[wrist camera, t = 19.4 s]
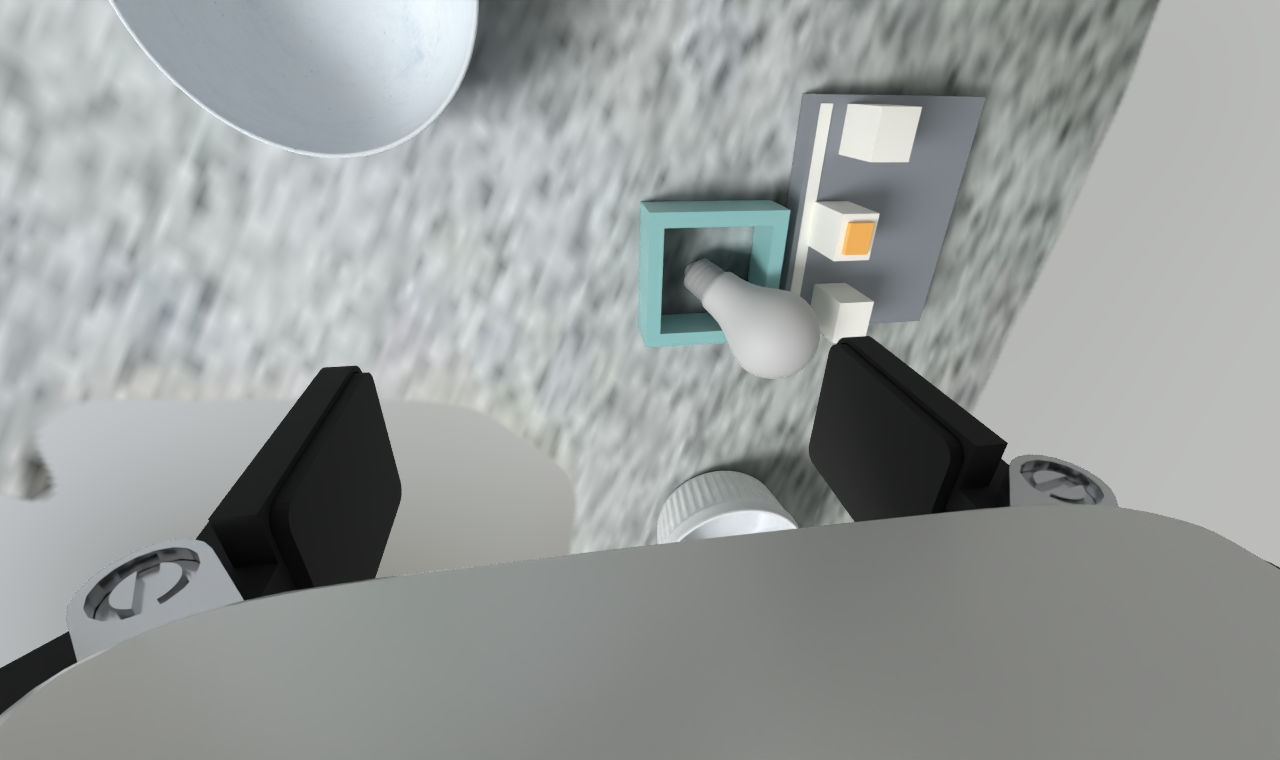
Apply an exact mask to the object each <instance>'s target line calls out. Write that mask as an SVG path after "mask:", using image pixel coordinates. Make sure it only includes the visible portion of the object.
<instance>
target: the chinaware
mask: <svg viewBox="0 0 1280 760" xmlns="http://www.w3.org/2000/svg"><path fill="white" fill-rule="evenodd" d="M109 1H110V3H111V5H112V6H113V8H114V10H115V11H116V13H117V14H118V16H119V18H120V19H121V21H122V22H123V24H124V25H125V27H126V28H127V29H128V31H129V32H130V34H131V35H132V36H133V38H134V39H135V40H136V42H137V43H138V44H139V46H140V47H141V48H142V49H143V51H144V52H145V53H146V54H147V55H148V57H149V58H150V59H151V60H152V61H153V62H154V63H155V64H156V66H157V67H158V68H159V69H160V70H161V71H162V72H163V73H164V74H165V75H166V76H167V77H168V78H169V79H170V80H171V81H172V82H173V83H174V84H175V85H176V86H177V87H178V88H180V89H181V90H182V91H183V92H184V93H185V94H186V95H188V96H189V97H190V98H191V99H192V100H194V101H195V102H196V103H197V104H199V105H200V106H201V107H203V108H204V109H205V110H207V111H208V112H210V113H211V114H212V115H214V116H215V117H217V118H218V119H220V120H221V121H223V122H225V123H226V124H228V125H230V126H231V127H233V128H235V129H237V130H238V131H240V132H242V133H244V134H246V135H248V136H250V137H252V138H255V139H257V140H259V141H261V142H264V143H266V144H269V145H272V146H274V147H277V148H280V149H283V150H287V151H290V152H294V153H298V154H303V155H308V156H315V157H323V158H354V157H362V156H368V155H373V154H377V153H381V152H384V151H387V150H390V149H392V148H395V147H397V146H399V145H401V144H403V143H405V142H407V141H409V140H411V139H412V138H414V137H415V136H417V135H418V134H420V133H421V132H423V131H424V130H425V129H426V128H428V127H429V126H430V125H431V124H432V123H433V122H434V121H435V120H436V119H437V118H438V117H439V116H440V115H441V114H442V113H443V111H444V110H445V109H446V108H447V106H448V105H449V104H450V102H451V101H452V99H453V98H454V96H455V94H456V93H457V91H458V89H459V87H460V85H461V83H462V81H463V79H464V77H465V74H466V72H467V69H468V67H469V64H470V60H471V57H472V53H473V50H474V45H475V40H476V34H477V27H478V16H479V0H109Z"/></svg>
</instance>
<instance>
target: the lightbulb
mask: <svg viewBox="0 0 1280 760" xmlns="http://www.w3.org/2000/svg"><path fill="white" fill-rule="evenodd" d="M684 286H685V287H686V288H687V289H688V290H689V291H690V292H691V293H692V294H694V295H695V297H696V298H698V299H699V300H700V301H701V302H702V306H703V307H704V308H705V309H706V310H707V311H708V312H709V313H710V314H711V315H712V316H713V317H714V319H715V320H716V321H717V322H718V324H719V325H720V327H721V329H722V331H723V332H724V334H725V337H726V340H727V342H728V345H729V347H730V349H731V352H732V354H733V356H734V358H735V359H736V361H737V362H738V363H739V364H740V366H741V367H743V368H744V369H745V370H746V371H748V372H750V373H751V374H753V375H756V376H759V377H762V378H769V379H779V378H784V377H788V376H790V375H793V374H795V373H797V372H798V371H800V370H801V369H803V368H804V367H805V366H806V365H807V364H808V363H809V362H810V360H811V359H812V358H813V356H814V354H815V352H816V350H817V348H818V344H819V340H820V327H819V322H818V319H817V316H816V314H815V312H814V311H813V309H812V307H811V306H810V305H809V304H808V303H807V302H806V300H804V299H803V298H802V297H800V296H799V295H796V294H794V293H792V292H790V291H785V290H780V289H775V288H768V287H761V286H758V285H755V284H751V283H749V282H747V281H745V280H743V279H741V278H739V277H738V276H736V275H735V274H733V273H732V272H725V271H723V270H722V269H721V268H719V267H718V266H717V265H715V264H714V263H712V262H710V261H709V260H708V259H700V260H698V261H697V262H691V263H690V264H689V265H688V266H687V267H686V269H685V278H684Z"/></svg>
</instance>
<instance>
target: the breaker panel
mask: <svg viewBox="0 0 1280 760" xmlns="http://www.w3.org/2000/svg"><path fill="white" fill-rule="evenodd" d="M985 99H986V97H973V96H924V95H862V94H803V96H802V102H801V109H800V116H799V123H798V129H797V136H796V143H795V150H794V157H793V163H792V170H791V177H790V184H789V191H788V197H787V204H786V208H787V209H789V210H791V211H790V217H789V224H788V230H787V237H786V244H785V250H784V257H783V263H782V270H781V276H780V283H779V289H780V290H785V291H790V292H792V293H794V294H796V295H799V296H800V297H802V298H803V299H804V300H806V302H807V303H808V304H809V305H810V306H811V307H812V309H813V311H814V312H815V314H816V316H817V319H818V322H819V327H820V333H822V334H823V335H824V336H825V337H826V338H827V339H828V340H829V341H830V342H832V343H838V341H839V340H840V339H841V338H844V337H861V336H866V332H867V328H868V324H869V323H887V322H906V321H920V317H921V314H922V311H923V307H924V304H925V301H926V297H927V294H928V291H929V287H930V284H931V281H932V277H933V274H934V270H935V267H936V264H937V260H938V257H939V254H940V250H941V247H942V244H943V240H944V237H945V233H946V230H947V227H948V223H949V220H950V217H951V213H952V210H953V207H954V203H955V200H956V197H957V193H958V190H959V186H960V183H961V180H962V176H963V173H964V170H965V166H966V163H967V160H968V156H969V153H970V149H971V146H972V143H973V139H974V136H975V133H976V129H977V126H978V123H979V119H980V116H981V112H982V109H983V106H984V102H985ZM818 201H849V202H852V203H854V204H857V205H859V206H862V207H865V208H867V209H870V210H872V211H875V212H877V213H880V215H879V219H878V223H877V227H876V232H875V236H874V240H873V245H872V249H871V253H870V257H869V260H857V261H832V260H831V259H829V258H827V257H826V256H824V255H823V254H821V253H819V252H818V251H816V250H814V249H813V248H811V247H810V246H808V245H807V242H808V236H809V230H810V225H811V219H812V213H813V207H814V202H818Z"/></svg>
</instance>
